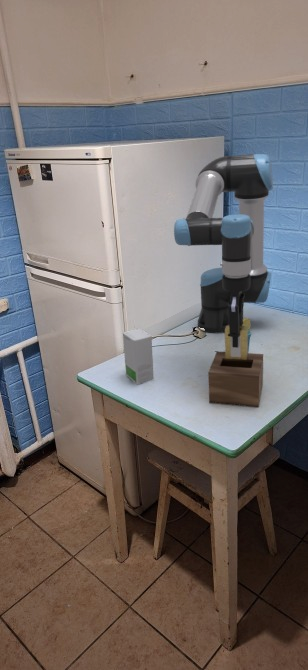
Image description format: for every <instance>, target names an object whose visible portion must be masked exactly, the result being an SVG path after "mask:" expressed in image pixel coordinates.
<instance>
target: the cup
mask: <svg viewBox="0 0 308 670" xmlns="http://www.w3.org/2000/svg"><path fill="white" fill-rule="evenodd" d="M242 326H248V353H249V352H250V342H251V337H252V331H251V326H252V324H251V320H250V318H244V317H243V325H242Z"/></svg>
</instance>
